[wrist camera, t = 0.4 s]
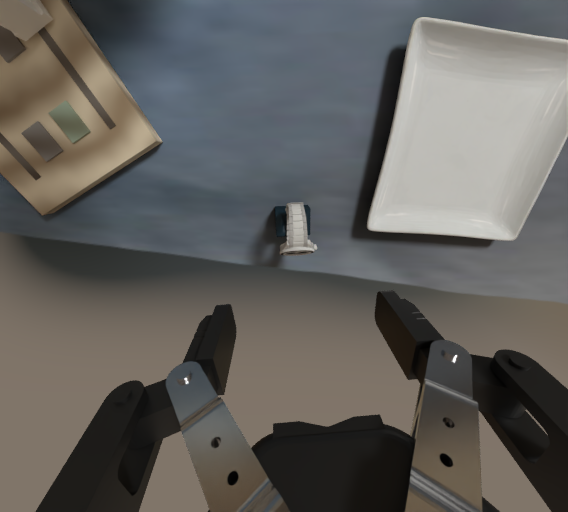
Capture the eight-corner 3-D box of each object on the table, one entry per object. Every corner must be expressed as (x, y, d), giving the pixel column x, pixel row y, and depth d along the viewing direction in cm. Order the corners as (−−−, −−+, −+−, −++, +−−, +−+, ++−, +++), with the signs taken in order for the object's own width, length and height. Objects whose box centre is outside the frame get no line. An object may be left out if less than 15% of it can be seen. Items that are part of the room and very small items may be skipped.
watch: (276, 241, 41) (278, 268, 31) (274, 195, 38) (275, 209, 28) (307, 240, 41) (319, 266, 31) (308, 194, 38) (321, 206, 28)
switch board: (-109, 44, 28) (-139, 35, 26) (18, -72, 25) (-5, -94, 23) (53, 212, 37) (40, 216, 35) (162, 142, 34) (155, 140, 32)
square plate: (497, 235, 43) (518, 242, 40) (357, 225, 41) (366, 231, 37) (582, 55, 33) (620, 43, 29) (400, 28, 31) (417, 11, 27)
